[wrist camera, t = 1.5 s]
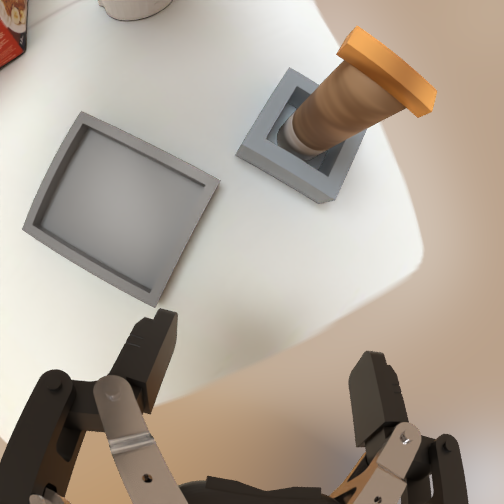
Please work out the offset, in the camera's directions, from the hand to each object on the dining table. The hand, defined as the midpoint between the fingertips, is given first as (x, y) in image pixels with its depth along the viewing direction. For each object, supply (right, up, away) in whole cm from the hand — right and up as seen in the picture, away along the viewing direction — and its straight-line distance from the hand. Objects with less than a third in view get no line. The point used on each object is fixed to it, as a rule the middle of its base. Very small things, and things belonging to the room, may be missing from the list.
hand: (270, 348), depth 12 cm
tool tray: (-14, +8, +15) cm, 22 cm away
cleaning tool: (+4, +16, +18) cm, 25 cm away
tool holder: (+4, +16, +18) cm, 25 cm away
